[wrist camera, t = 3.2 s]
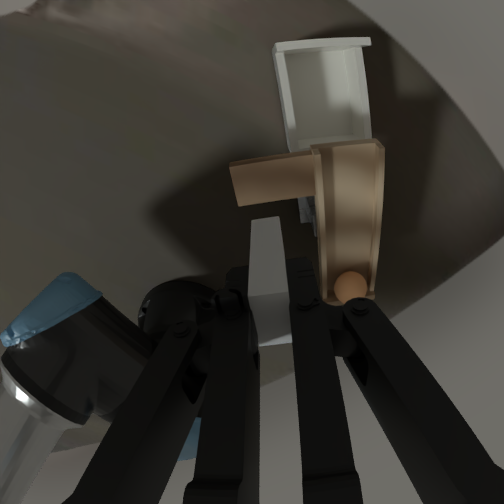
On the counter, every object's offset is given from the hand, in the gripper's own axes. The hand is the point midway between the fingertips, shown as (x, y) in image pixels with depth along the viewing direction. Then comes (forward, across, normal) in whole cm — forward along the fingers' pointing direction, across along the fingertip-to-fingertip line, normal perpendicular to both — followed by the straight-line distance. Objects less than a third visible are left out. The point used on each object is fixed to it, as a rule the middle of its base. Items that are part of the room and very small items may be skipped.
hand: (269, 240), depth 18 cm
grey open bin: (+22, +7, +6) cm, 23 cm away
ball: (+11, +7, -13) cm, 19 cm away
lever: (+15, +4, -6) cm, 17 cm away
